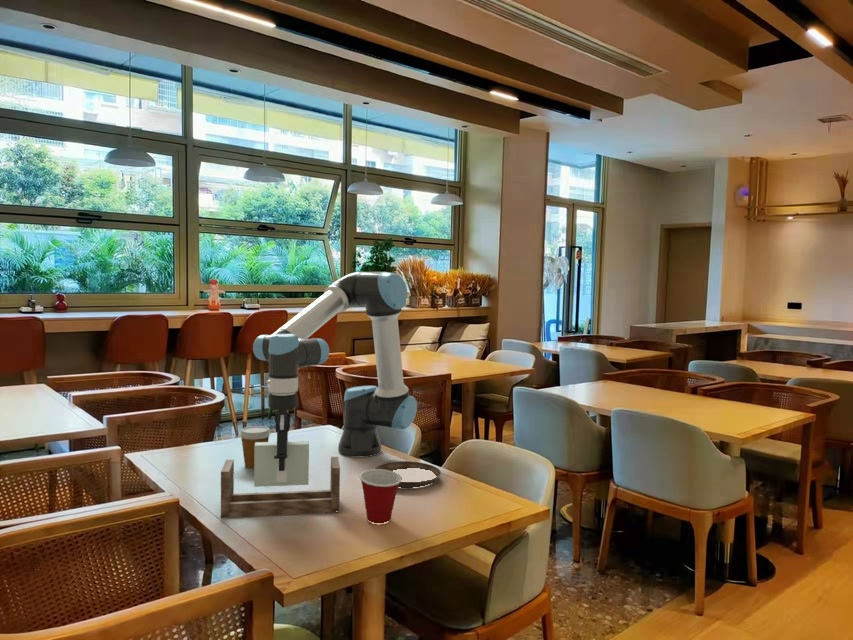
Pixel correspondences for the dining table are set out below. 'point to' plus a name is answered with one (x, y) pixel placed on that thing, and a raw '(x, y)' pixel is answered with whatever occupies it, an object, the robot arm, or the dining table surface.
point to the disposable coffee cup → (252, 442)
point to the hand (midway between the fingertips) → (282, 479)
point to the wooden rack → (278, 497)
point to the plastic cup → (379, 493)
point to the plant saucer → (409, 464)
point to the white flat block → (268, 465)
